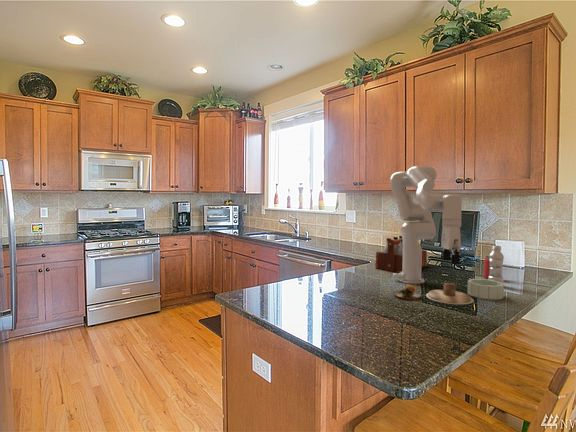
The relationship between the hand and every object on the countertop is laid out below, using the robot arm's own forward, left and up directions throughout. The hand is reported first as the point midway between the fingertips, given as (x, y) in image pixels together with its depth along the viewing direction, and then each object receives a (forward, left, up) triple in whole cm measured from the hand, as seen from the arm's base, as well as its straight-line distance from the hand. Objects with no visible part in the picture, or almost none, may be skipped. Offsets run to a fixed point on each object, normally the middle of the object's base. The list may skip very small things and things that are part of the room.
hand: (450, 262), depth 149 cm
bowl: (+18, +6, -16) cm, 25 cm away
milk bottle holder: (-4, +68, -17) cm, 70 cm away
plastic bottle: (+32, +25, -16) cm, 44 cm away
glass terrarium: (-18, 0, -17) cm, 25 cm away
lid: (0, 0, -16) cm, 16 cm away
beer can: (+37, +40, -16) cm, 57 cm away
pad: (0, 0, -16) cm, 16 cm away
